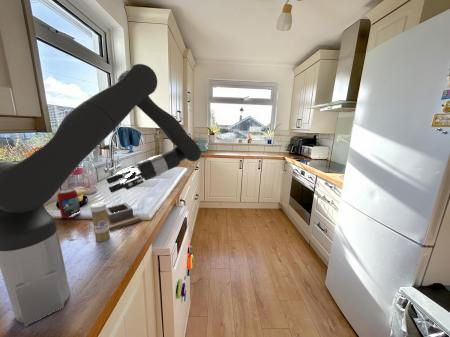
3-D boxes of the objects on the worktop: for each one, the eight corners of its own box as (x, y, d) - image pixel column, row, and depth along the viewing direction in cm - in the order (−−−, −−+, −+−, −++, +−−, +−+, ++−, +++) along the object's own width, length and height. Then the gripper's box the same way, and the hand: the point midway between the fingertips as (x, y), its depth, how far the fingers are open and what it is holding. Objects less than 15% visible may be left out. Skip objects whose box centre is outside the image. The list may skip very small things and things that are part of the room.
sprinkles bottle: (99, 243, 65) (94, 208, 62) (93, 239, 68) (87, 205, 65) (113, 237, 69) (108, 203, 66) (106, 233, 71) (101, 200, 68)
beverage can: (69, 220, 81) (64, 194, 78) (57, 217, 83) (52, 192, 80) (84, 213, 87) (80, 188, 85) (73, 211, 89) (69, 187, 86)
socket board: (140, 220, 81) (140, 211, 80) (109, 231, 73) (108, 220, 72) (126, 207, 94) (126, 199, 93) (98, 215, 86) (97, 206, 85)
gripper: (144, 154, 77) (101, 170, 69) (155, 163, 66) (105, 183, 59) (151, 169, 80) (110, 186, 73) (162, 181, 69) (116, 202, 62)
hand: (108, 185), depth 66 cm, fingers open, 8 cm apart
